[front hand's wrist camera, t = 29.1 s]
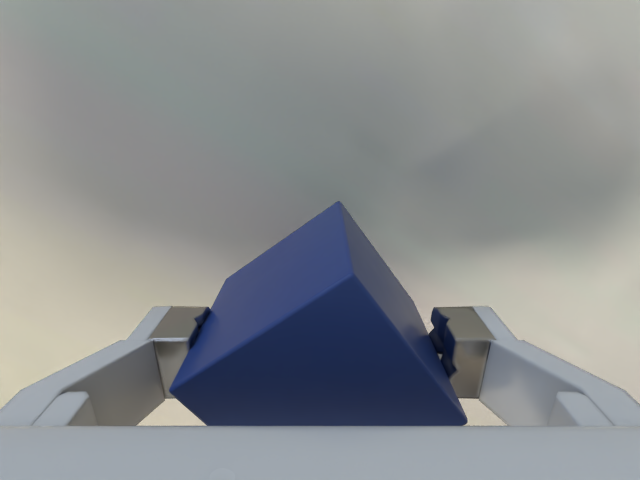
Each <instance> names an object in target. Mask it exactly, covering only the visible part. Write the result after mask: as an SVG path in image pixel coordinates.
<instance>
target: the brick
mask: <svg viewBox="0 0 640 480" xmlns="http://www.w3.org/2000/svg"><path fill="white" fill-rule="evenodd" d="M169 392H170V394H172V395H173V396H174V397H175V398H176V399H177V400H178V401H180V402H181V403H182V404H183V405H184V406H185V407H187V408H188V409H189V410H190V411H191V412H192V413H193V414H195V415H196V416H197V417H198V418H199V419H200V420H201V421H203V422H204V423H205V424H206V425H207V426H463V425H465V424H466V423H467V417H466V415H465V413H464V411H463V408H462V406H461V404H460V402H459V400H458V398H457V395H456V393H455V391H454V389H453V387H452V384H451V382H450V380H449V378H448V376H447V374H446V372H445V369H444V367H443V365H442V363H441V360H440V358H439V356H438V354H437V352H436V350H435V348H434V345H433V343H432V341H431V339H430V337H429V334H428V332H427V330H426V328H425V326H424V323H423V321H422V319H421V317H420V315H419V312H418V310H417V308H416V306H415V304H414V302H413V300H412V299H411V298H410V296H409V295H408V293H407V292H406V291H405V289H404V288H403V287H402V285H401V284H400V282H399V281H398V280H397V278H396V277H395V276H394V274H393V273H392V272H391V270H390V269H389V267H388V266H387V265H386V263H385V262H384V261H383V259H382V258H381V256H380V255H379V254H378V252H377V251H376V250H375V248H374V247H373V246H372V244H371V243H370V241H369V240H368V239H367V237H366V236H365V235H364V233H363V232H362V230H361V229H360V228H359V226H358V225H357V224H356V222H355V221H354V220H353V218H352V217H351V215H350V214H349V213H348V211H347V210H346V209H345V207H344V206H343V204H342V203H341V202H339V201H338V202H336V203H335V204H333V205H332V206H330V207H329V208H327V209H326V210H325V211H323V212H322V213H320V214H319V215H317V216H316V217H315V218H313V219H312V220H310V221H309V222H307V223H306V224H305V225H303V226H302V227H300V228H299V229H297V230H296V231H295V232H293V233H292V234H290V235H289V236H287V237H286V238H284V239H283V240H282V241H280V242H279V243H277V244H276V245H274V246H273V247H272V248H270V249H269V250H267V251H266V252H264V253H263V254H262V255H260V256H259V257H257V258H256V259H254V260H253V261H251V262H250V263H249V264H247V265H246V266H244V267H243V268H241V269H240V270H239V271H237V272H236V273H234V274H233V275H231V276H230V277H229V278H227V279H226V280H225V282H224V284H223V286H222V288H221V290H220V292H219V294H218V296H217V298H216V300H215V302H214V304H213V305H212V307H211V309H210V312H209V314H208V316H207V318H206V320H205V322H204V323H203V325H202V327H201V329H200V331H199V334H198V336H197V338H196V339H195V341H194V343H193V345H192V347H191V349H190V350H189V352H188V354H187V356H186V357H185V359H184V361H183V363H182V365H181V367H180V369H179V371H178V373H177V375H176V377H175V379H174V381H173V382H172V384H171V386H170V388H169Z"/></svg>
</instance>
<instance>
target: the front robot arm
mask: <svg viewBox="0 0 640 480" xmlns="http://www.w3.org/2000/svg"><path fill="white" fill-rule="evenodd" d="M209 312H210V308H209V307H189V306H174V307H173V306H156V307H153V308H152V309H151V310H150V311H149V313H148V314H147V315H146V316H145V317H144V319H143V320H142V321H141V322H140V324H139V325H138V326H137V327H136V329H135V330H134V331H133V332H132V334H131V335H130V336H129V337H128V338H127V340H120V341H118V342H116V343H114V344H112V345H110V346H108V347H106V348H104V349H102V350H100V351H98V352H96V353H94V354H92V355H90V356H88V357H86V358H84V359H82V360H80V361H78V362H76V363H74V364H72V365H70V366H68V367H66V368H64V369H62V370H60V371H58V372H56V373H54V374H52V375H50V376H48V377H46V378H44V379H42V380H40V381H38V382H36V383H34V384H32V385H30V386H28V387H26V388H24V389H22V390H20V391H19V392H18V393H17V394H16V395H15V396H14V397H13V398H12V399H11V400H10V401H9V402H8V403H7V404H6V405H5V406H4V407H3V408H2V409H1V410H0V480H640V404H639V403H638V402H637V401H636V400H634V399H633V398H632V397H631V396H630V395H629V394H628V393H627V392H626V391H625V390H623V389H621V388H619V387H617V386H615V385H613V384H611V383H609V382H607V381H605V380H603V379H601V378H599V377H597V376H595V375H593V374H591V373H589V372H587V371H585V370H583V369H581V368H579V367H577V366H575V365H573V364H571V363H568V362H566V361H564V360H562V359H560V358H558V357H556V356H554V355H552V354H550V353H548V352H546V351H544V350H542V349H540V348H538V347H536V346H534V345H532V344H530V343H528V342H526V341H524V340H517V339H516V337H515V336H514V335H513V334H512V332H511V331H510V330H509V329H508V328H507V326H506V325H505V324H504V323H503V322H502V320H501V319H500V318H499V317H498V316H497V314H496V313H495V312H494V311H493V310H492V308H491V307H488V306H469V307H434V308H433V311H432V315H431V322H432V324H433V326H434V329H433V330H432V331H431V332H430V333H429V337H430V339H431V341H432V343H433V345H434V348H435V350H436V352H437V354H438V356H439V358H440V360H441V363H442V365H443V367H444V369H445V372H446V374H447V376H448V378H449V380H450V382H451V384H452V387H453V389H454V391H455V393H456V395H457V398H474V399H479V401H480V402H482V403H483V404H484V405H485V406H486V407H487V408H488V409H490V410H491V411H492V412H493V413H494V414H495V415H497V416H498V417H499V418H500V419H501V420H502V421H503V422H505V423H506V424H507V425H508V426H136V425H137V424H138V423H139V422H141V421H142V420H143V419H144V418H145V417H146V416H148V415H149V414H150V413H151V412H152V411H153V410H154V409H156V408H157V407H158V406H159V405H160V404H161V403H162V402H164V401H165V399H169V398H175V397H174V396H173V395H172V394H170V392H169V388H170V386H171V384H172V382H173V381H174V379H175V377H176V375H177V373H178V371H179V369H180V367H181V365H182V363H183V361H184V359H185V357H186V356H187V354H188V352H189V350H190V349H191V347H192V345H193V343H194V341H195V339H196V338H197V336H198V334H199V331H200V329H201V327H202V325H203V323H204V322H205V320H206V318H207V316H208V314H209Z"/></svg>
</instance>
